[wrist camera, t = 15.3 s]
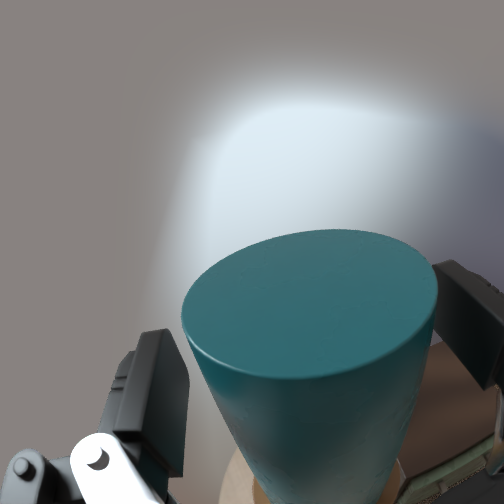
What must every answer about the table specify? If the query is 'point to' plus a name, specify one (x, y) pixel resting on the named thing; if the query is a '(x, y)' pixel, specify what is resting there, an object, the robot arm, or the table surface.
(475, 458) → the drawer
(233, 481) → the table surface
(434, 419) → the cabinet
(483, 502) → the robot arm
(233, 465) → the table surface
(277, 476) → the cylinder
